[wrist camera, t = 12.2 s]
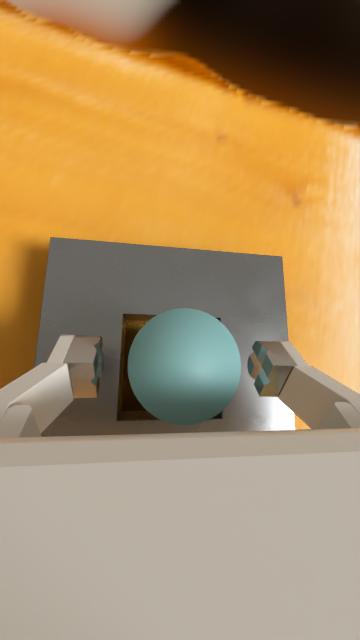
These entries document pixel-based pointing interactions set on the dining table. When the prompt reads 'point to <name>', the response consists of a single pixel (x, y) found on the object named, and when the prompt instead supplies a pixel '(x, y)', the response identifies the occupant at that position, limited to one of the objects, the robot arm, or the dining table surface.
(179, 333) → the teal peg
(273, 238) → the dining table surface
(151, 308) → the socket block
